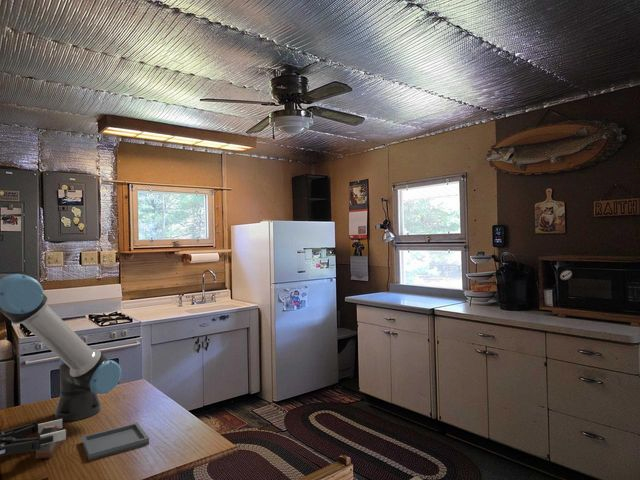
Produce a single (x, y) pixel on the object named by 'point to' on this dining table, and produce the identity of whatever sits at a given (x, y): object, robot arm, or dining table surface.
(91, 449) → the dock tray
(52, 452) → the electronic device
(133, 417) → the dining table surface
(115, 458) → the dining table surface
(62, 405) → the robot arm
